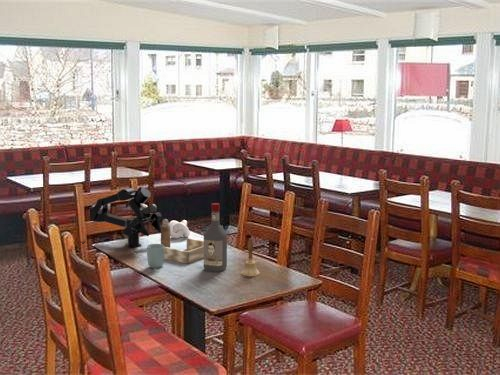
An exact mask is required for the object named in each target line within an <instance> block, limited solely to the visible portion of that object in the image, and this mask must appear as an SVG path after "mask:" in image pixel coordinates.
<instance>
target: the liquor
mask: <svg viewBox="0 0 500 375" xmlns="http://www.w3.org/2000/svg"><path fill="white" fill-rule="evenodd" d="M220 207H221V205H220V203H218V202H214V203H213V202H211V207H210V208H211V223H210V225H209V227H208V228H207V229H206V230H205V232H204V234H203V241H204V258H203V268H204V270H205V271H206V272H212V273H213V272H214V273H221V272H223V271H225V270H226V269H227V267H228V266H227V265H228V260H227V259H228V233H227V231H226V230H225V229H224V227H223V226H222V225H221V223H220V210H221V208H220Z"/></svg>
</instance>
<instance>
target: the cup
mask: <svg viewBox="0 0 500 375" xmlns="http://www.w3.org/2000/svg"><path fill="white" fill-rule="evenodd" d="M164 257H165V248H164V245H162V244H161V243H151V244H148V245H147V247H146V259H147V265H148V267H150V269H154V270H155V269H160V268H162V267H163V266H164V264H165V259H164Z"/></svg>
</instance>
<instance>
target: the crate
mask: <svg viewBox="0 0 500 375" xmlns="http://www.w3.org/2000/svg"><path fill="white" fill-rule="evenodd" d="M164 248H165V257H164V260H170V261H174V262H179V263H183V264H184V263H185V264H188V265H189V264H192V263H194V262H196V261H199V260H203V259H204V240H200V239H195V238H190V237H186V249H183V250H181V249H179V248H178V249H177V248H172V247H170V248H169V247H164Z"/></svg>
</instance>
